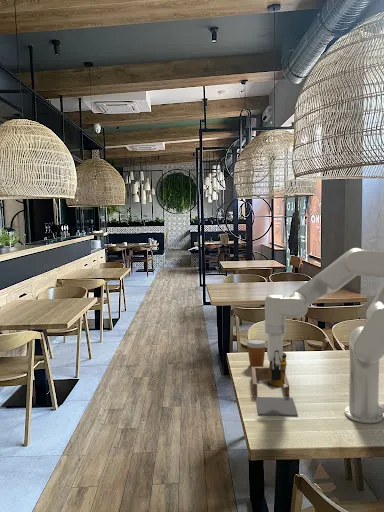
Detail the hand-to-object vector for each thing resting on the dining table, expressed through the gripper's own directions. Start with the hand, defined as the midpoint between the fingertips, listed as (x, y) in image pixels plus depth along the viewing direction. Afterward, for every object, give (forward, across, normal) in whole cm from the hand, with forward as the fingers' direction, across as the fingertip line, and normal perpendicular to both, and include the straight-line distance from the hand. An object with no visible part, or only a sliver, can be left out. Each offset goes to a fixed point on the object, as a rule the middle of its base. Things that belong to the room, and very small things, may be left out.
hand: (275, 375), depth 154 cm
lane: (+12, -18, -1) cm, 22 cm away
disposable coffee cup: (+12, -44, -5) cm, 46 cm away
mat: (+12, 0, 0) cm, 12 cm away
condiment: (+3, 0, -1) cm, 3 cm away
